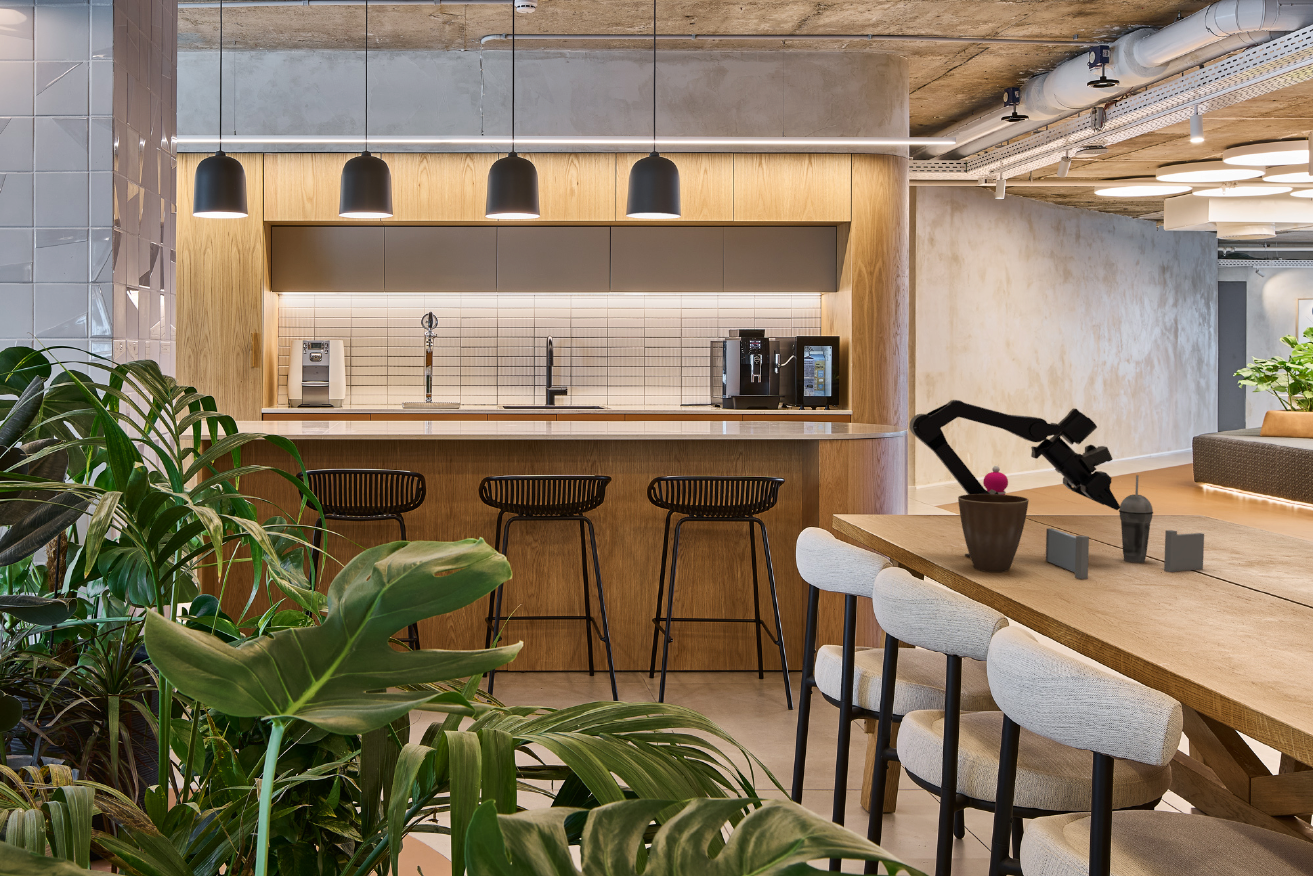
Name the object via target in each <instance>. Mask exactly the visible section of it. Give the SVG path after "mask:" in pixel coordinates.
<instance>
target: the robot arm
mask: <svg viewBox="0 0 1313 876" xmlns="http://www.w3.org/2000/svg"><path fill="white" fill-rule="evenodd" d="M958 418H961V419H964V420H968V421H973V422H977V423H980V424H984V425H987V426H990V427H995V428H997V429H998V428H999V429H1002V430H1004V431H1007V432H1008V433H1011V434H1012V435H1014V436H1017V437H1019V438H1020V439H1023V440H1025V441H1029V442H1032V443H1039V444H1038V445H1037V446H1033V445H1032V446H1030V447H1031V448H1030V449H1031V453H1030V454H1031V455H1030V457H1031V458H1033V459H1039V458H1040V457H1041V456H1042V457H1043V458H1044V459H1046V461H1048V463H1049V464H1050V465H1051V466H1052V467H1054V468H1055V469H1054V470H1055V471H1056V472H1057V474H1060V475H1061V476H1063V477H1062V484H1063V485H1064V486H1065V487H1066V488H1067V489H1068V490H1071V491H1072V492H1074V493H1076V494H1078V495H1081V496H1083V497H1085V498H1088V499H1089V500H1092V501H1094V502H1096V503H1098V504H1101V505H1102V506H1106V507H1108V508H1110V509H1113V510H1115V511H1119V510H1120V505H1121V504H1119V502H1118V500H1117V499H1116V497H1115V496H1114V494H1113V492H1112V490H1111V484H1112V479H1113V478H1112V477H1111V476H1110V475H1109V474H1108V473H1107V472H1104V471H1101V470H1100V471H1099V470H1098V471H1097V468H1096V467H1097V466H1100V465H1101V464H1105V463H1107V462H1112V461H1113V456H1112V454H1111V453H1110V450H1109V448H1108V446H1105V445H1100V446H1097V447H1096V446H1095V445H1093V444H1088V445H1086V446H1085V447H1084V452H1083V453H1082V454H1081V453H1077V452H1075V450H1073V449H1072V447H1070V446H1069V445H1071V446H1072V445H1074V444H1077V445H1080V444H1081V443H1082V442H1084V441H1085V440H1086V439H1087V437H1089V436H1090V435H1091V434H1092V433H1093V432H1095V430H1096V429H1098V426H1097V425H1096V423H1095V422H1094V421H1093V420H1092V419H1091V418H1090V417H1088V416H1087V415H1085V414H1084V413H1082V412H1081V411H1079V409H1077V408H1072V409H1071V410H1070V411H1068V413H1067V414H1066V416H1065V417H1063V419H1061V421H1060V422H1058V423H1055V422H1050V423H1048V422H1047V420H1045V419H1043V418H1041V417H1037V416H1030V415H1029V416H1028V415H1016V414H1008V413H1004V412H1000V411H997V410H993V409H989V408H985V407H981V406H978V405H974V404H971V403H967V402H964V401H962V400H958V399H951V400H950V401H948V402H947V403H945V404H944V405H941V406H939V407H937V408H935V409H932V410H931V411H929V412H927V413H919V414H916V415H914V416H913V417H912V418H911V419H910V422H909V430H910V433H911V434H912V435H913V436H914V437H916V438H917V439H918V440H919V441H920V442H922V444H923V445H925V446H926V447H927V448H929V449H930V451H932V452H933V453H934V455H936V457H937V459H938V460H940V461H941V463H942V464H943V465H944V467H945V468H946V469H947V470H948V472H949V473H950V474H951V475H952V476H953V478H954V479H955V480H956V482H957V483H958V484H959V485H960V486H961V487H962V489H963V490H964V492H965V493H966V495H969V494H998V492H996V491H994V490H992V489H991V490H990V491H989V492H988V491H987V489H986V488H985V487H984V485H982V484H981V482H979V480H978V479H977V477H976V476H975V475H974V474H973V473H972V471H971V470H970V469H969V468H968V467H967V465H966V464H965V463H964V462H963V460H962V459H961V458H960V456H958V454H957V453H956V451H955V450H954V449H953V448H952V446H950V444H949V443H948V441H947V438H946V436H945V434H944V432H943V430H942V428H943V427H945V426H946V425H948V424H950V423H951V422H952V421H954V420H956V419H958ZM1048 437H1050V438H1048ZM1061 437H1062V438H1061ZM1063 439H1064V440H1063ZM1065 441H1066V442H1067V443H1068V444H1067V443H1066V442H1065ZM964 557H968V558H970V555H969V552H968V553H964Z"/></svg>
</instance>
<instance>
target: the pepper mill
mask: <svg viewBox="0 0 1313 876" xmlns="http://www.w3.org/2000/svg"><path fill="white" fill-rule="evenodd" d="M1000 469H1001V468H1000V467H999V466H997V465H994V466H993V467H992V471H991V472H989V473H988V472H987V473H986V474H985V476H984V477H983V481H982V483H983V487H984V489H985V490H986V491H988V492H989V491H990V490H991V489H992V490H994V491H996V492H998V494H1000V495H1006V493H1007V492H1006V489H1007V488H1008V487H1009V486H1008V485H1009V479H1008V477H1007V476H1006V474H1004V473H1003V472H1000Z"/></svg>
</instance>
